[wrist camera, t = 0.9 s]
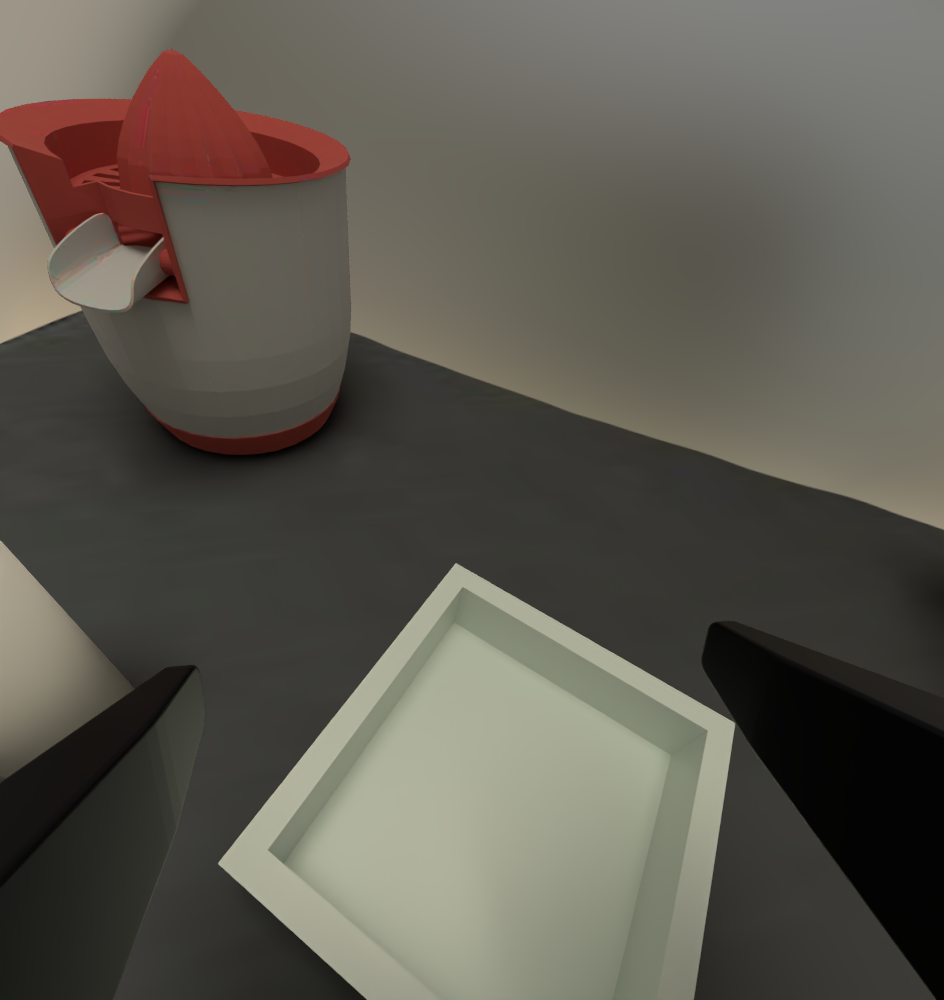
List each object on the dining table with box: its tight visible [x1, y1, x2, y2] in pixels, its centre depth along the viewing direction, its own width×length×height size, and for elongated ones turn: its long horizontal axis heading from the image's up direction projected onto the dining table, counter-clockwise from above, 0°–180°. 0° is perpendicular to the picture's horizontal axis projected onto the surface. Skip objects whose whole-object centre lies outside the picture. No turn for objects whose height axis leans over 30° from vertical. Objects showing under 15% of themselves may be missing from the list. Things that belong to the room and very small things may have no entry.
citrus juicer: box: [0, 49, 351, 455], centre depth 28 cm, size 16×17×20 cm
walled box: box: [218, 564, 735, 1000], centre depth 19 cm, size 14×14×4 cm
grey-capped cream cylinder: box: [0, 541, 135, 779], centre depth 15 cm, size 4×4×12 cm
